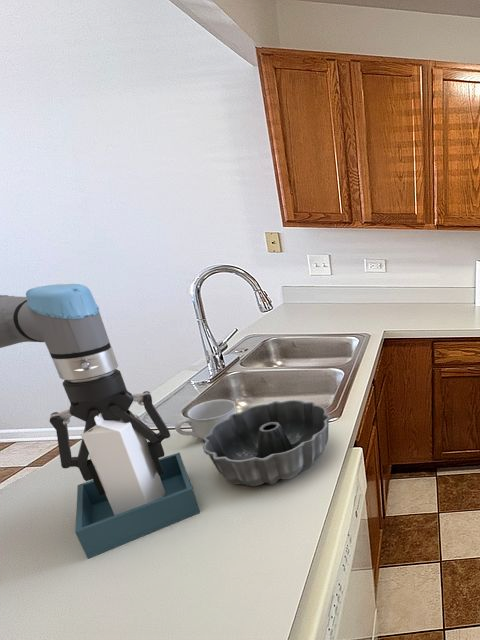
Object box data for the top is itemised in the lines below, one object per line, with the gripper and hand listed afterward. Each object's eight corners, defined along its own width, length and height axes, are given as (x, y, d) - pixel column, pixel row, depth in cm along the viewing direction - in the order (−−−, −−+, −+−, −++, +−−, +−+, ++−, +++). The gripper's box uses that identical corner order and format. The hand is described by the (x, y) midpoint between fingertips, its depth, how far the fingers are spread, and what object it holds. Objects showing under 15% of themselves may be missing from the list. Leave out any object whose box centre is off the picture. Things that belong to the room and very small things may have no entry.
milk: (166, 494, 83) (134, 400, 75) (150, 514, 77) (114, 415, 70) (132, 498, 82) (96, 403, 74) (114, 519, 76) (73, 419, 68)
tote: (88, 508, 81) (77, 484, 78) (186, 474, 91) (179, 452, 89) (87, 558, 69) (75, 532, 67) (200, 512, 80) (192, 488, 77)
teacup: (235, 419, 114) (228, 395, 111) (246, 434, 107) (240, 408, 104) (176, 438, 105) (168, 411, 102) (184, 455, 98) (175, 427, 95)
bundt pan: (306, 501, 83) (299, 461, 79) (184, 498, 84) (170, 458, 80) (349, 433, 107) (345, 400, 104) (254, 431, 108) (247, 399, 105)
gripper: (-3, 400, 60) (55, 517, 68) (167, 365, 73) (199, 467, 81) (5, 384, 65) (58, 495, 73) (162, 354, 78) (192, 451, 87)
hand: (132, 480), depth 77 cm, fingers closed on milk, 8 cm apart
